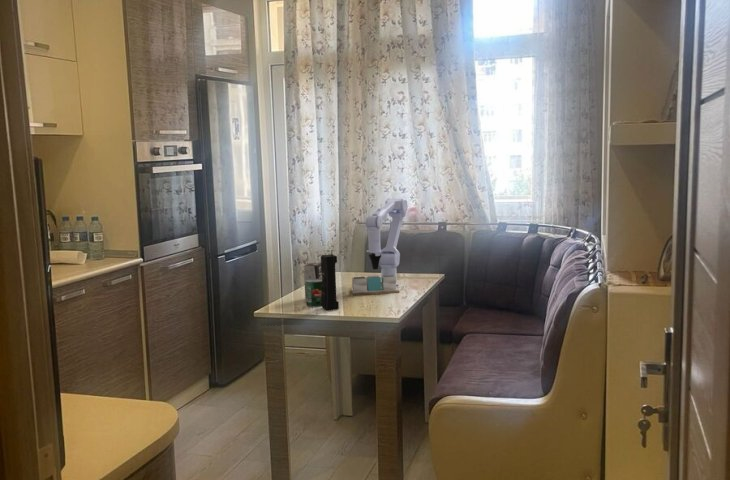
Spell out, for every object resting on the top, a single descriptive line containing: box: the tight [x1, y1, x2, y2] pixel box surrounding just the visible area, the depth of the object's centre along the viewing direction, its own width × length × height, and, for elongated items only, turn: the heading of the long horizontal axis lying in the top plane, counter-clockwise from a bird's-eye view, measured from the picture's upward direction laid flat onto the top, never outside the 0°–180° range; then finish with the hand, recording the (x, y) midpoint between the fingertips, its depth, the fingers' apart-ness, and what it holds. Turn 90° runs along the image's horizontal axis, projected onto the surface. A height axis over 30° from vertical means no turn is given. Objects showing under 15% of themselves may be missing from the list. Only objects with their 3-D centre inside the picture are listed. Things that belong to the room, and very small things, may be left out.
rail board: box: [349, 275, 400, 297], centre depth 322 cm, size 9×22×8 cm, turn 100°
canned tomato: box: [304, 279, 322, 308], centre depth 297 cm, size 8×8×11 cm
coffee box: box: [303, 262, 322, 302], centre depth 310 cm, size 9×6×16 cm
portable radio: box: [320, 249, 340, 312], centre depth 288 cm, size 8×6×25 cm
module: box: [365, 275, 382, 291], centre depth 322 cm, size 4×6×6 cm
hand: (375, 269), depth 328 cm, fingers closed
